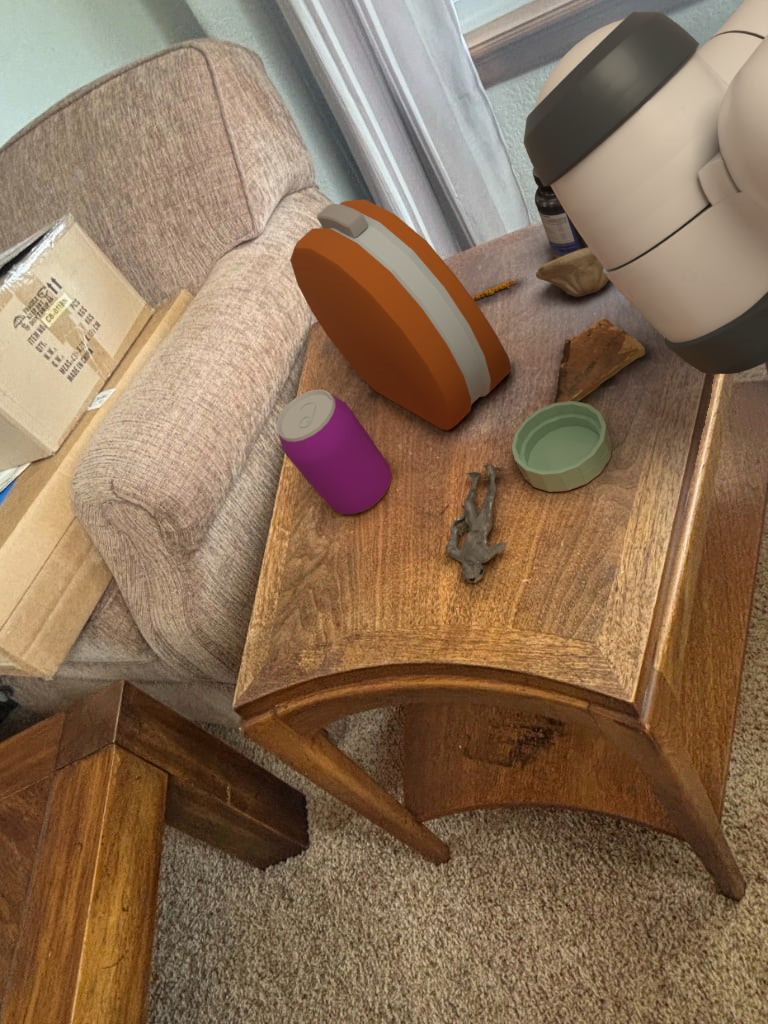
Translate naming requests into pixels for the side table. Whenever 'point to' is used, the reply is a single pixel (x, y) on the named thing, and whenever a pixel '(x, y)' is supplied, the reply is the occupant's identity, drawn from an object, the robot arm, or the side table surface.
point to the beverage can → (333, 451)
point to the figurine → (475, 530)
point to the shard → (594, 359)
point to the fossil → (575, 273)
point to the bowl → (562, 446)
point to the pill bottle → (556, 221)
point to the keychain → (494, 289)
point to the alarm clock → (398, 312)
